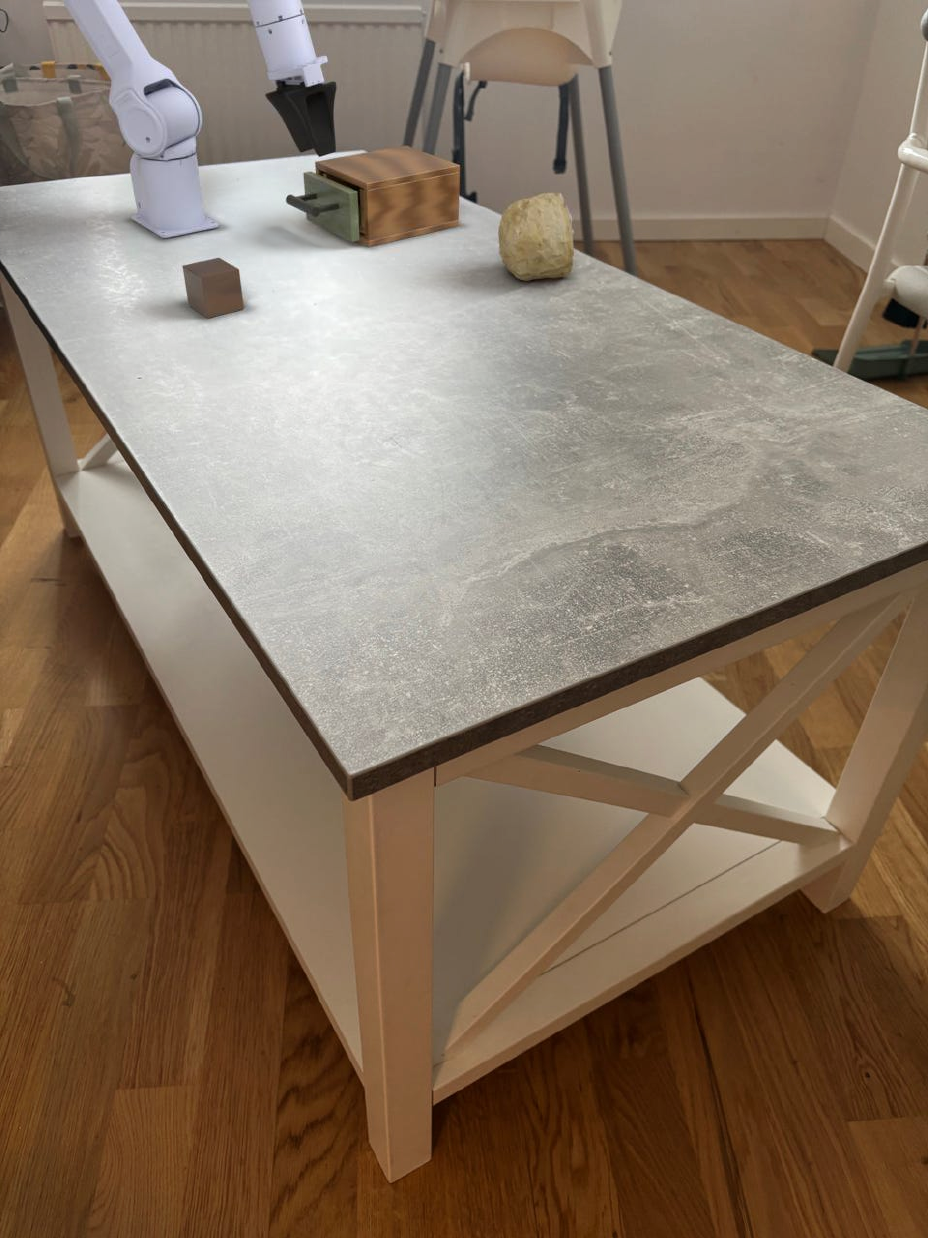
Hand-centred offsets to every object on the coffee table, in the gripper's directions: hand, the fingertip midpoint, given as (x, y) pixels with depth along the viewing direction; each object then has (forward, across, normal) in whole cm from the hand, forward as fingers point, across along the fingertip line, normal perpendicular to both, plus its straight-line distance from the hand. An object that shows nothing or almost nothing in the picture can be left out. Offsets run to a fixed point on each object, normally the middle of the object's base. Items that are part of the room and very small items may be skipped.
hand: (317, 151), depth 114 cm
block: (+10, -13, +19) cm, 25 cm away
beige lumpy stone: (+18, -16, -17) cm, 30 cm away
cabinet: (+12, +7, -8) cm, 16 cm away
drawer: (+10, +5, -4) cm, 12 cm away
